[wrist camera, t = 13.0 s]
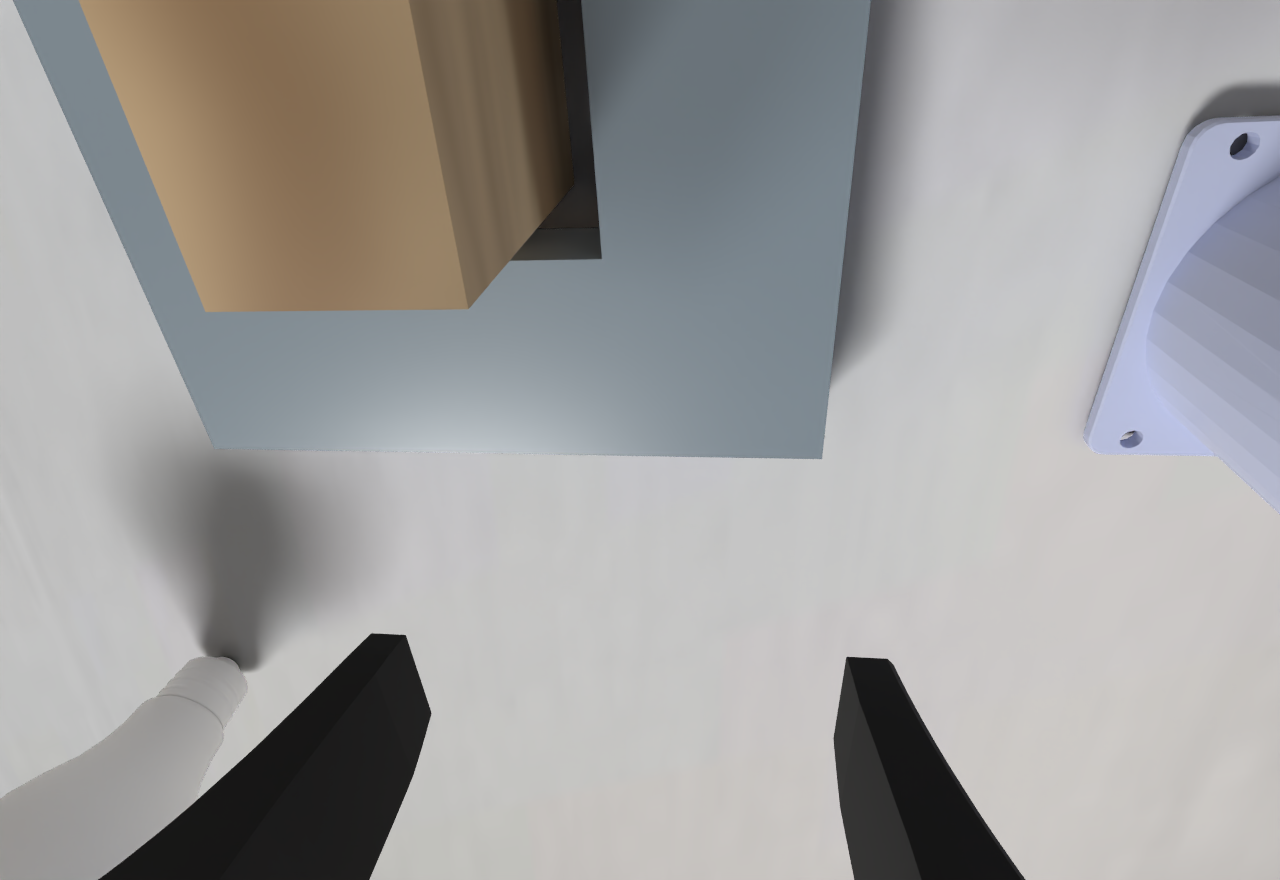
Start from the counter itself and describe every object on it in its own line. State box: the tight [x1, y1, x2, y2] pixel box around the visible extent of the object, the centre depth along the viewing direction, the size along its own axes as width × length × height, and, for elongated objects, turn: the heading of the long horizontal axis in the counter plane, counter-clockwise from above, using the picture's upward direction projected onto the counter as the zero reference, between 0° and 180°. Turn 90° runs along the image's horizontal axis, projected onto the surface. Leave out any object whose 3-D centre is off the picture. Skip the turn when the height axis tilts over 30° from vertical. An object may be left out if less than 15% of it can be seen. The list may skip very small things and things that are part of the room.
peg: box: [79, 0, 574, 312], centre depth 12 cm, size 4×4×8 cm
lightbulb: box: [0, 656, 248, 880], centre depth 23 cm, size 6×6×11 cm
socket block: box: [13, 0, 871, 459], centre depth 14 cm, size 16×16×2 cm
